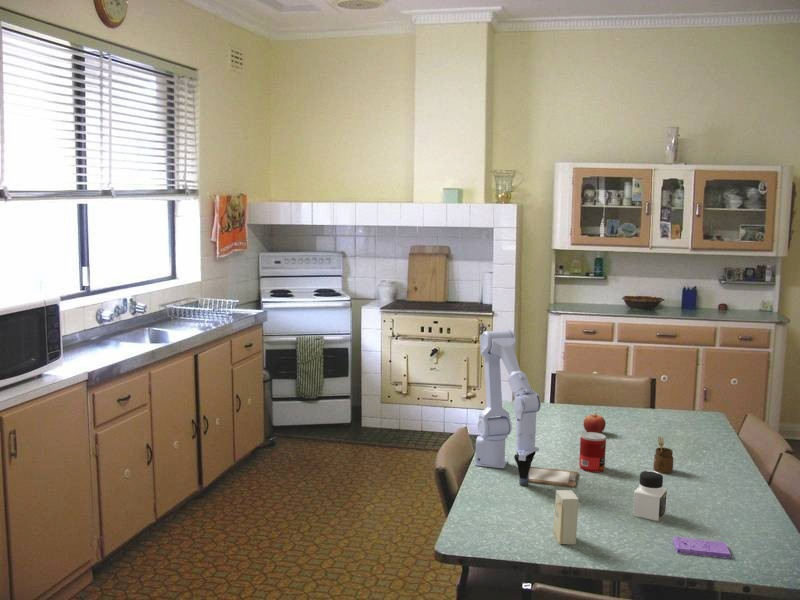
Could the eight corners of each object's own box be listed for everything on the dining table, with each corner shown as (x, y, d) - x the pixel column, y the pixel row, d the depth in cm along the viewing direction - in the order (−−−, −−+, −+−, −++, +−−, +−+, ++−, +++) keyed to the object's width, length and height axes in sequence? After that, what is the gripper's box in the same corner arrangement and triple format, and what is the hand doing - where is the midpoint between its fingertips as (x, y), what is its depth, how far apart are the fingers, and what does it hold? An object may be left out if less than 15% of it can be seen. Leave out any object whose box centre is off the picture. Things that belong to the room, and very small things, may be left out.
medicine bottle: (659, 522, 213) (661, 479, 211) (632, 516, 217) (634, 474, 215) (665, 513, 219) (668, 471, 217) (639, 507, 223) (642, 466, 221)
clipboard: (521, 481, 242) (521, 478, 242) (527, 468, 254) (527, 464, 254) (575, 487, 237) (575, 484, 237) (577, 473, 250) (578, 470, 250)
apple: (608, 433, 295) (609, 412, 294) (601, 438, 288) (602, 416, 287) (587, 429, 299) (588, 408, 298) (580, 434, 292) (581, 413, 291)
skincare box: (552, 534, 204) (554, 489, 202) (569, 534, 204) (571, 489, 203) (559, 545, 197) (561, 498, 196) (577, 545, 198) (579, 498, 196)
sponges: (672, 543, 201) (673, 536, 201) (725, 548, 199) (725, 541, 198) (676, 555, 194) (676, 547, 194) (730, 560, 192) (731, 553, 192)
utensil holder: (675, 470, 254) (678, 434, 252) (667, 475, 249) (669, 438, 248) (658, 466, 258) (660, 430, 256) (649, 471, 253) (651, 434, 252)
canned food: (605, 473, 250) (606, 439, 249) (579, 471, 252) (580, 438, 251) (603, 465, 258) (605, 433, 256) (578, 463, 259) (580, 431, 258)
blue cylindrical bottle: (518, 485, 238) (519, 458, 237) (519, 482, 241) (520, 455, 240) (528, 486, 237) (529, 459, 236) (529, 483, 240) (530, 456, 239)
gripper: (536, 441, 229) (534, 486, 231) (541, 427, 243) (540, 470, 245) (512, 438, 231) (510, 483, 233) (519, 425, 245) (517, 467, 247)
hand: (524, 476), depth 239 cm, fingers closed on blue cylindrical bottle, 3 cm apart
